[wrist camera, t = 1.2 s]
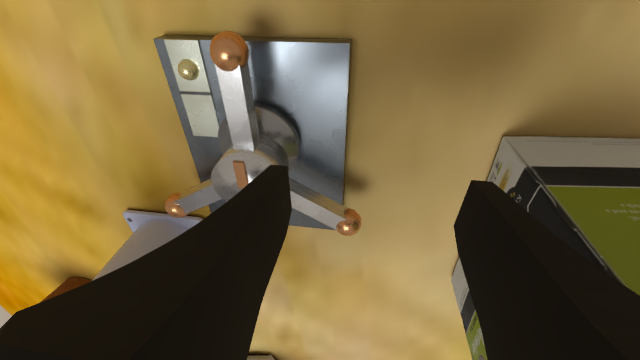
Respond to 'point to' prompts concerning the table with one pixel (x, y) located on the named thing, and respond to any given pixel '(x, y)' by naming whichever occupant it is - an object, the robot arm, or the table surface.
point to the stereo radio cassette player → (260, 357)
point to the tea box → (570, 205)
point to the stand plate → (269, 103)
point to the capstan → (253, 145)
